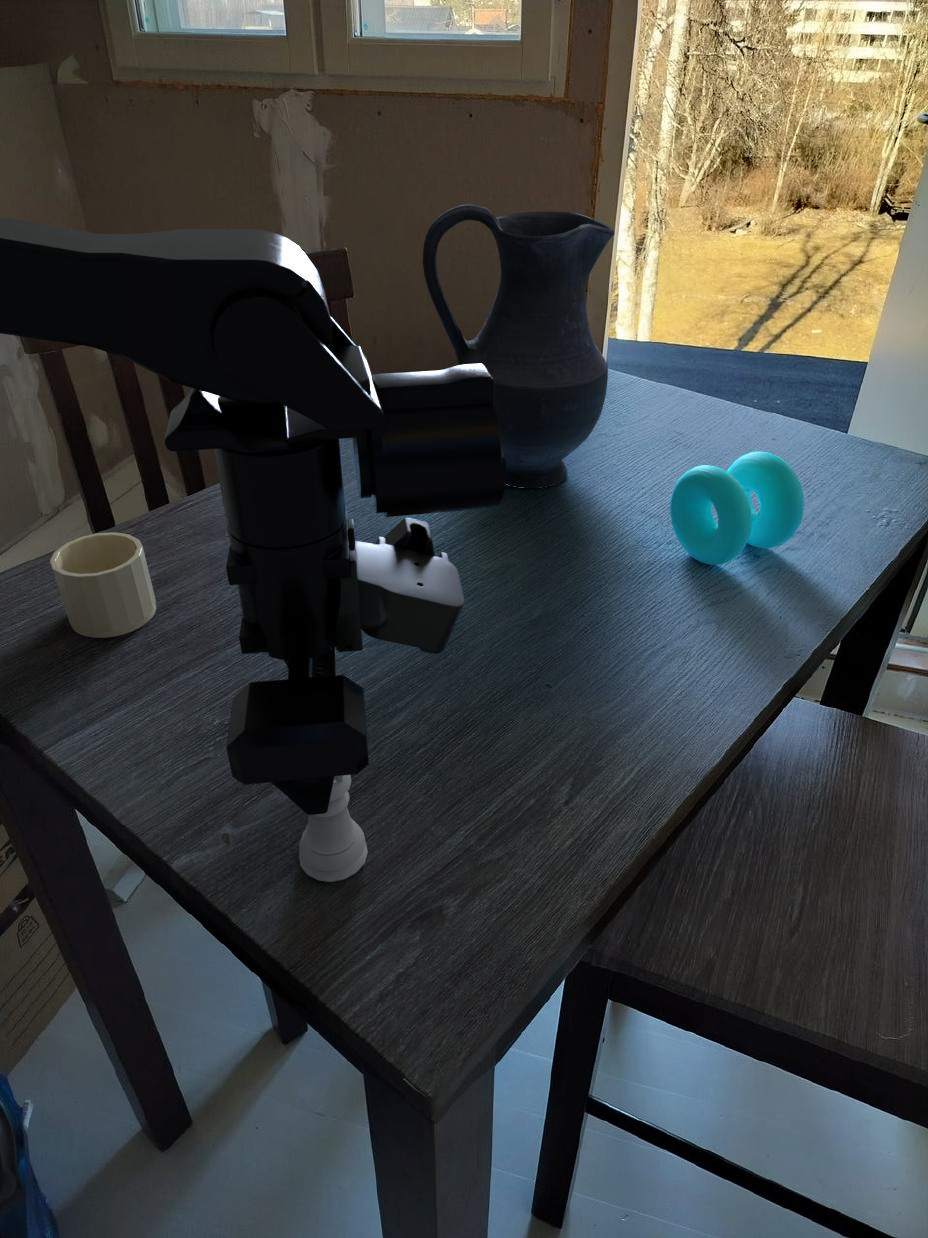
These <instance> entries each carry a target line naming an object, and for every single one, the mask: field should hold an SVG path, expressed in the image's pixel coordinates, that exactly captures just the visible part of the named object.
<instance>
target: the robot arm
mask: <svg viewBox="0 0 928 1238" xmlns="http://www.w3.org/2000/svg"><path fill="white" fill-rule="evenodd" d="M0 334H1V335H9V336H14V337H23V338H28V339H29V338H30V339H34V340H35V339H37V340H43V341H49V342H58V343H64V344H70V345H76V346H85V347H89V348H93V349H95V350H100V351H103V352H106V353H109V354H113V355H115V356H119V357H121V358H123V359H126V360H128V361H130V362H132V363H133V364H135V365H138V366H139V367H141V368H143V369H145V370H147V371H149V372H151V373H153V374H155V375H157V376H159V377H161V378H162V379H165V380H166V381H169V382H171V383H174V384H177V385H181V386H184V387H187V388H189V391H188V393H187V395H186V396H185V397H184V398H183V399H182V400H181V401H180V403H178V404H177V405H176V406H175V407H174V408H173V409H172V410H171V411H170V414H169V417H168V422H167V427H166V431H165V436H164V439H163V443H164V446H165V448H166V450H168V451H170V452H172V453H173V452H174V453H175V452H192V451H203V450H204V451H205V450H213V455H214V460H215V465H216V471H217V476H218V482H219V488H220V494H221V499H222V500H221V501H222V505H223V511H224V516H225V522H226V527H227V529H226V530H227V535H228V540H229V548H228V553H227V559H226V563H225V564H226V565H225V570H226V574H227V581H228V585H229V586H237V590H238V595H239V601H240V607H241V613H242V615H241V621H240V629H239V636H238V639H239V645H240V650H241V651H240V652H241V655H248V654H262V653H263V654H264V653H268V656H269V657H270V658H272V659H277V660H282V661H283V662H284V664H285V666H286V667H287V669H288V671H287V679H275V680H262V681H251V682H248V683H247V684H246V685H245V687H243V688H242V689H241V690H240V691H239V692H238V693H237V694H236V695H235V696H234V697H232V704H231V710H230V717H229V725H228V732H227V738H226V745H225V749H226V753H227V758H228V763H229V767H230V771H231V776H232V778H233V779H235V780H236V781H238V782H239V783H241V784H243V786H245V785H257V784H265V783H267V784H268V783H271V785H273V786H275V788H277V789H278V790H279V791H280V792H281V793H282V794H284V796H286V797H287V798H288V799H289V800H290V801H291V802H292V803H294V804H295V805H296V806H297V807H298V808H299V809H301V811H302V812H304V813H305V814H306V815H307V816H309V815H316V814H324V813H326V812H327V811H328V806H329V801H330V796H331V792H332V787H333V782H334V777H335V776H343V775H350V776H354V775H358V774H359V773H360V772H362V771H363V770H364V769H365V768H367V767H368V766H369V765H370V764H369V746H368V744H369V743H368V729H367V728H368V727H367V714H366V700H365V688H364V687H363V686H361V685H359V684H358V683H357V682H355V681H353V680H352V679H350V678H349V677H347V676H346V675H344V674H339V675H337V652H338V653H346V652H347V653H348V652H361V651H363V650H364V649H363V647H364V646H363V634H362V632H364V634H366V635H367V636H369V637H371V638H374V639H376V640H380V641H384V642H390V643H395V644H399V645H404V646H409V647H414V648H418V649H419V651H421V653H426V654H432V655H433V654H435V655H436V654H441V653H443V652H444V651H445V649H446V648H447V646H448V643H449V640H450V638H451V636H452V634H453V632H454V629H455V627H456V624H457V622H458V619H459V617H460V615H461V613H462V610H463V608H464V605H465V603H466V602H465V601H466V599H465V595H464V590H463V586H462V582H461V579H460V574H459V569H458V568H457V567H456V565H455V564H454V563H452V561H450V559H449V555H448V553H446V552H443V551H440V554H439V555H438V556H437V555H435V547H434V541H433V536H432V531H431V527H430V523H429V522H427V521H424V520H419V519H415V518H412V517H407V516H414V515H428V514H439V513H448V512H450V513H451V512H461V511H471V510H472V511H473V510H482V509H483V510H484V509H485V510H486V509H494V508H500V506H501V505H502V504H503V500H504V498H505V497H504V496H505V492H506V486H505V485H506V458H505V455H504V454H503V452H502V448H501V437H500V428H499V422H498V416H497V411H496V407H495V403H494V382H495V381H494V379H493V378H492V376H491V375H490V373H489V372H488V370H487V368H486V367H485V366H484V365H483V364H467V365H458V364H457V365H455V366H451V367H447V368H445V369H440V370H425V371H409V372H408V371H407V372H391V373H375V374H372V371H371V368H370V365H369V362H368V359H367V356H366V355H365V354H364V352H363V351H362V348H361V346H360V345H356V344H355V342H354V341H353V340H352V339H351V338H350V337H349V336H348V334H347V333H346V332H345V331H344V329H342V327H341V326H340V325H339V324H338V322H337V321H335V319H334V318H333V317H332V316H331V314H330V308H329V304H328V299H327V296H326V291H325V289H324V286H323V282H322V280H321V276H320V274H319V271H318V269H317V268H316V267H315V265H314V264H313V262H312V261H311V260H310V258H309V257H308V255H307V254H306V252H304V251H303V250H302V248H301V247H300V245H298V244H296V243H295V242H293V241H292V240H291V239H289V238H288V237H286V236H283V235H281V234H278V233H275V232H273V231H269V230H263V229H248V228H247V229H244V228H243V229H242V228H238V229H237V228H236V229H233V228H229V229H227V228H224V229H223V228H220V229H219V228H184V229H183V228H182V229H173V230H162V231H161V230H160V231H153V232H152V231H151V232H141V233H96V232H91V231H84V230H79V229H74V228H69V227H68V228H67V227H63V226H57V225H52V224H45V223H41V222H40V223H39V222H35V221H29V220H24V219H19V218H13V217H7V216H3V215H2V216H1V215H0ZM344 439H352V446H353V447H352V449H353V459H354V470H355V476H356V485H357V491H358V495H359V498H360V499H371V498H372V496H373V503H374V509H375V510H374V511H375V514H383V516H384V518H393V517H394V518H395V517H403V516H406V517H404V518H403V519H402V520H401V521H399V523H397V524H396V525H395V526H394V527H393V528H392V529H391V530H390V531H389V532H387V533H386V535H384V536H377V539H376V542H375V543H371V542H366V541H360V540H356V531H355V521H354V519H352V518H351V519H349V517H348V511H347V507H346V495H345V483H344V471H343V459H342V449H341V440H344Z"/></svg>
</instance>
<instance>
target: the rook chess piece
mask: <svg viewBox="0 0 928 1238" xmlns="http://www.w3.org/2000/svg"><path fill="white" fill-rule="evenodd" d="M351 784H352V777H351V775H343V776H335V777H334V782H333V787H332V792H331V796H330V801H329V806H328V811H327V812H326V813H324V814H316V815H307V816H308V818H307V825H306V827H305V830H304V831H302V835H301V837H300V840H299V844H298V851H299V855H298V858H299V864H300V867H301V868H302V870H303V871H304V873H305V874H306V875H307V876H309V877H311V878H313V879H315V880H317V881H320V882H326V883H335V882H341V881H345V880H346V879H348V878H350V877H352V876H353V875H355V874H357V872H358V871H359V870H360V869H361V868H362V867H363V865H364V864H365V863H366V860H367V856H368V853H369V850H368V846H367V841H366V837H365V833H364V831H363V829H362V828H361V827H360V825H359V824H357V822H356V821H354V819H353V818H352V817H351V816H350V815H351V814H350V812H349V809H348V805H349V802H350V793H349V790H350V788H351Z"/></svg>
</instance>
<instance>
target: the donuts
mask: <svg viewBox="0 0 928 1238" xmlns="http://www.w3.org/2000/svg"><path fill="white" fill-rule="evenodd" d="M752 492H753V493H754V494H755V496H756V497H757V499H758V503H759V511H758V512H757V510H756V508H755V506H754V504H753V498H752ZM669 505H670V506H669V512H670V513H669V514H670V521H671V526H672V529H673V532H674V534H675V538H676V539H677V541H678V542H679V544H680V546H681V547H682V548H683V549H684V551H685V552H686V553H688V555H689V556H691V557H692V558H693V559H695V560H696V561H698V562H700V563H703V564H706V565H712V566H718V565H724V564H727V563H729V562H731V561H732V560H734V559H736V558H737V557H738V556H739V555H741V553H742V551H743V550H744V549H745V547H746V546H747V545H750V546H752V547H756V548H759V549H772V548H773V549H774V548H777V547H779V546H782V545H783V544H785V543H786V542H788V541H789V540H791V539H792V537H794V535H795V534H796V532H797V531H798V529H799V528H800V525H801V524H802V521H803V517H804V511H805V497H804V491H803V487H802V484H801V482H800V479H799V477H798V476H797V474H796V472H795V470H794V469H793V467H791V465H790V464H789V463H787V461H785V460H784V459H783V458H782V457H780V456H778V455H776V454H775V453H774V454H773V453H771V452H768V451H751V452H748V453H745V454H743V455H742V456H740V457H738V458H737V459H736V460H734V462H733V463H732V464H731V465H730V466H729V468H728V469H727V470H725V469H723V468H721V467H718V466H716V465H709V464H707V465H705V464H704V465H702V464H701V465H698V466H694V467H692V468H690V469H688V470H687V471H686V472H684V473H683V474H682V475H681V476H680V478H678V480H677V481H676V482H675V485H674V487H673V490H672V493H671V497H670V503H669ZM712 506H713V507H714V508H715V511H716V515H717V521H716V519H715V517H714V515H713V512H712V511H713V509H712Z"/></svg>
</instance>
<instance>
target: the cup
mask: <svg viewBox="0 0 928 1238" xmlns="http://www.w3.org/2000/svg"><path fill="white" fill-rule="evenodd" d="M49 563H50V567H51V570H52V573H53V576H54V579H55V582H56V586H57V588H58V591H59V595H60V597H61V601H62V604H63V607H64V611H65V613H66V617H67V620H68V622H69V625H70V627H71V629H72V631H74V632H75V633H77V634H78V635H81V636H83V637H88V638H92V639H93V638H94V639H107V638H114V637H120V636H123V635H126V634H129V633H131V632H134V631H136V630H138V629H141V627H144V625H146V624H148V622H150V621H151V619H152V618H153V617H154V616H155V614H156V611H157V600H156V599H157V598H156V596H155V591H154V587H153V583H152V579H151V575H150V571H149V567H148V564H147V563H148V562H147V559H146V554H145V551H144V547H143V544H142V542H141V540H140V539H138V538H137V537H135V536H133V535H131V534H128V533H122V532H115V531H113V532H97V533H92V534H88V535H83V536H79V537H77V538H75V539H73V540H71V541H67V542H66V543H64V544H63V545H62V546H60V547H59V548H58V549H56V550H55V551H54V552H53V554H52V556H51V557H50V559H49Z"/></svg>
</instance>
